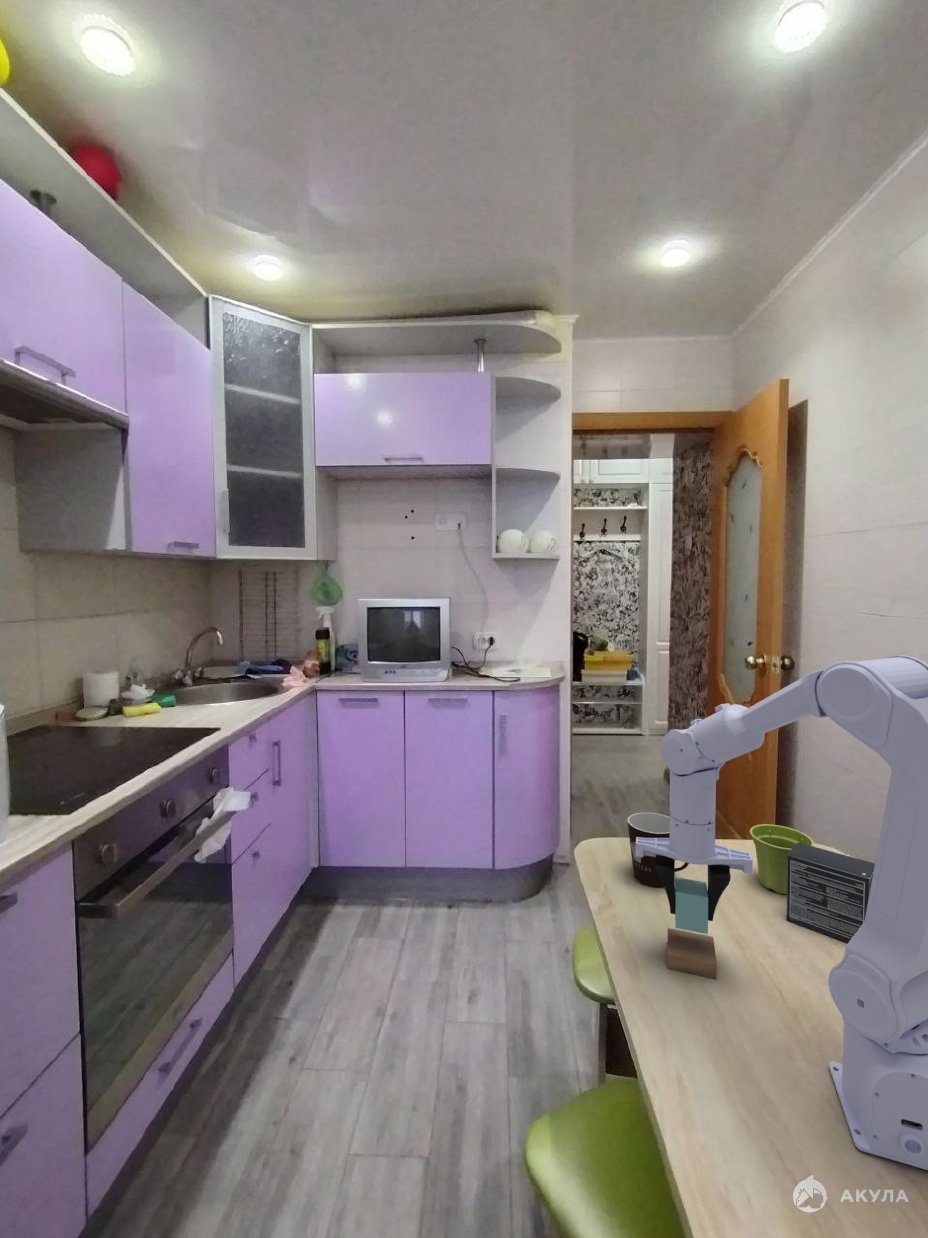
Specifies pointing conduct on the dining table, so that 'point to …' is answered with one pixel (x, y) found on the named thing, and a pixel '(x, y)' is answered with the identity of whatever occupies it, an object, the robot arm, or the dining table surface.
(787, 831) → the plant pot
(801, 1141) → the dining table surface
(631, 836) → the coffee mug
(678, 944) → the base brick
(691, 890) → the teal brick
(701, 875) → the dining table surface
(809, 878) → the small box
